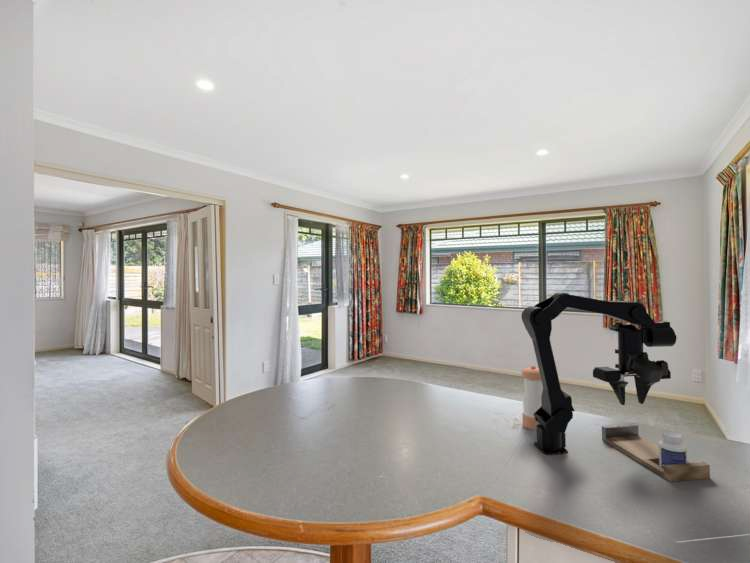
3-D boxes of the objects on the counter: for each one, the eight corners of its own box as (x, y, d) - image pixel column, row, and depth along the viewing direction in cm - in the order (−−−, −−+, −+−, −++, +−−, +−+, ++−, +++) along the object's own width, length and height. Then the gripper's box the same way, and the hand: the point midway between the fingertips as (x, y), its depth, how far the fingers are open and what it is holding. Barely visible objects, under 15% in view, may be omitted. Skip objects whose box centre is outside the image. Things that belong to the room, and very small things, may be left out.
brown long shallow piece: (669, 481, 87) (669, 464, 87) (602, 439, 109) (601, 425, 109) (709, 477, 88) (709, 460, 88) (634, 437, 110) (634, 423, 110)
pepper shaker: (522, 428, 119) (520, 367, 119) (522, 420, 126) (521, 362, 126) (547, 431, 117) (546, 369, 116) (546, 422, 123) (545, 363, 123)
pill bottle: (692, 477, 88) (691, 439, 88) (666, 475, 90) (665, 438, 89) (678, 466, 94) (678, 430, 94) (654, 464, 95) (653, 429, 95)
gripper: (620, 354, 95) (621, 417, 95) (688, 351, 97) (690, 412, 97) (590, 346, 106) (592, 402, 106) (652, 343, 108) (654, 398, 108)
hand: (631, 404), depth 104 cm, fingers open, 5 cm apart
